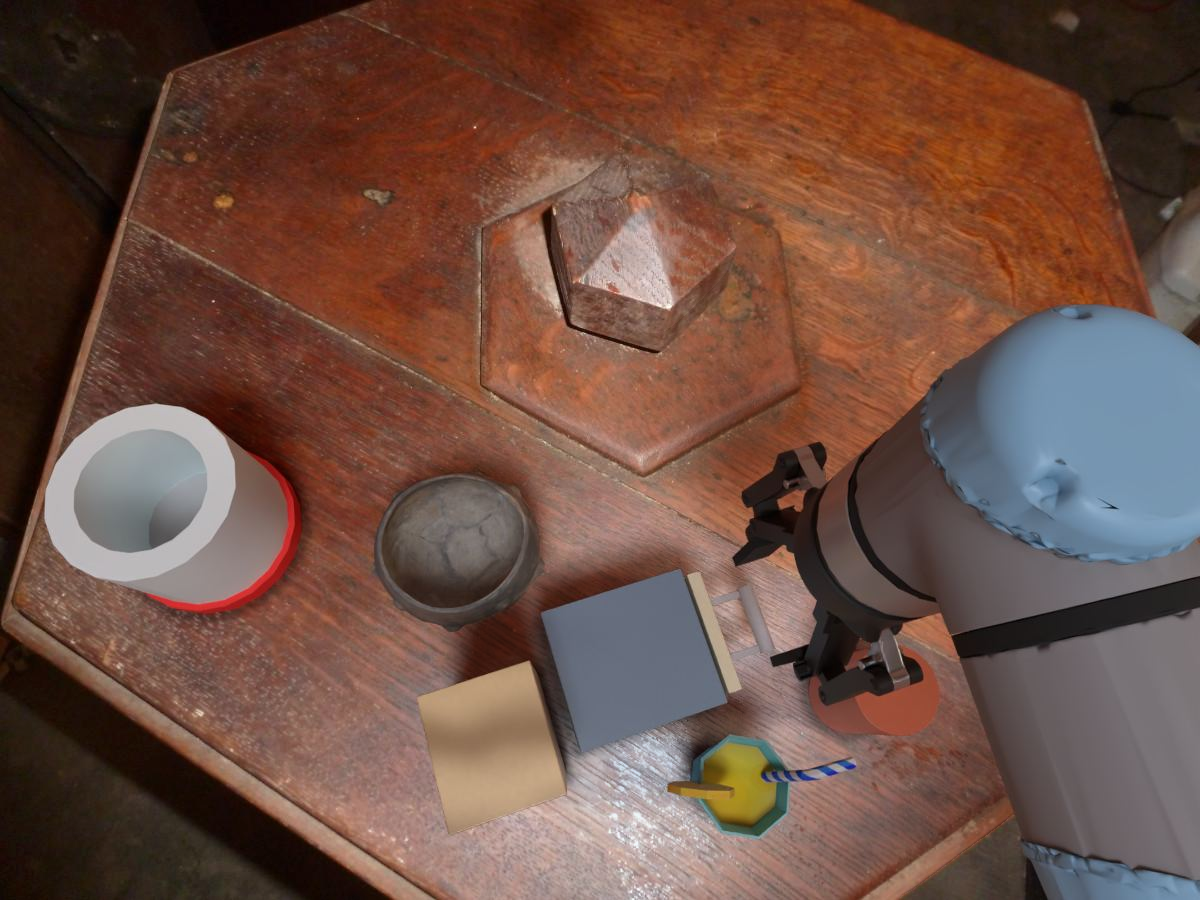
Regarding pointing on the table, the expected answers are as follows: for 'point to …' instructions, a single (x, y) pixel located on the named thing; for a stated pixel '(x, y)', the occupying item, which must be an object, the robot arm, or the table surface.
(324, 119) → the table surface
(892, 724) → the tea tin
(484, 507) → the bowl
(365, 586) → the table surface
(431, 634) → the table surface
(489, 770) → the stand
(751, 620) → the drawer
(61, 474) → the container
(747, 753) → the cup
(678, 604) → the cabinet
